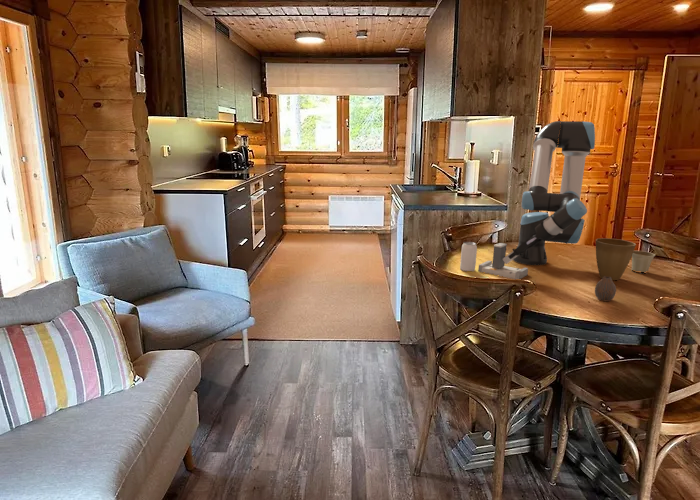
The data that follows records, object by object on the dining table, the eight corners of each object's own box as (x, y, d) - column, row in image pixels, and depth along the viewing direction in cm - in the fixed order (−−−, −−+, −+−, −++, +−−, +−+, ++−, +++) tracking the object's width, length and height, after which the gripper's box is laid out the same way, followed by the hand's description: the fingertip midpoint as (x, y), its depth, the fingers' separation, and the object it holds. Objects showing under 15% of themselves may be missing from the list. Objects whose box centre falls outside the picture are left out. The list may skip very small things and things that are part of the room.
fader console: (527, 274, 211) (528, 268, 210) (518, 280, 203) (519, 273, 202) (487, 266, 222) (488, 260, 221) (478, 271, 214) (478, 264, 213)
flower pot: (650, 270, 222) (653, 252, 220) (653, 276, 214) (656, 256, 212) (626, 267, 226) (630, 249, 224) (628, 273, 217) (631, 254, 215)
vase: (589, 296, 185) (593, 274, 183) (607, 296, 186) (610, 274, 184) (600, 302, 178) (604, 279, 176) (618, 302, 179) (622, 279, 177)
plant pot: (632, 285, 200) (639, 247, 196) (592, 280, 205) (597, 243, 201) (626, 275, 213) (632, 239, 209) (588, 271, 218) (594, 236, 214)
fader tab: (504, 269, 215) (506, 243, 212) (498, 272, 210) (501, 246, 207) (497, 268, 217) (499, 242, 214) (491, 270, 212) (493, 245, 209)
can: (475, 272, 213) (477, 245, 210) (460, 271, 214) (462, 244, 211) (474, 268, 219) (477, 242, 216) (459, 267, 220) (462, 241, 217)
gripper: (549, 238, 191) (504, 271, 205) (560, 233, 200) (515, 265, 215) (537, 223, 192) (493, 257, 207) (548, 219, 202) (505, 251, 216)
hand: (504, 261), depth 211 cm, fingers closed
